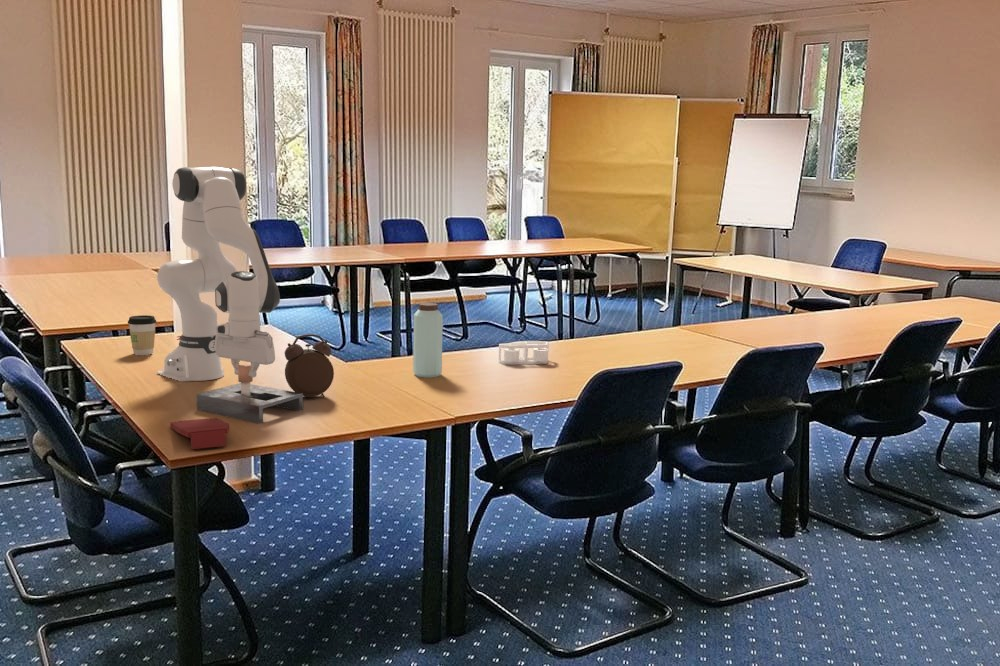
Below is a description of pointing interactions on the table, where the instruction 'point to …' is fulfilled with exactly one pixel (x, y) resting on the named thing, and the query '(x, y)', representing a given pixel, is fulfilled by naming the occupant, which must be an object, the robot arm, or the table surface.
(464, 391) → the table surface
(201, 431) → the carton
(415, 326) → the water bottle
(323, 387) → the alarm clock
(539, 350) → the white double holder
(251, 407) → the keyhole board
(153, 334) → the coffee cup
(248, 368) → the peg
